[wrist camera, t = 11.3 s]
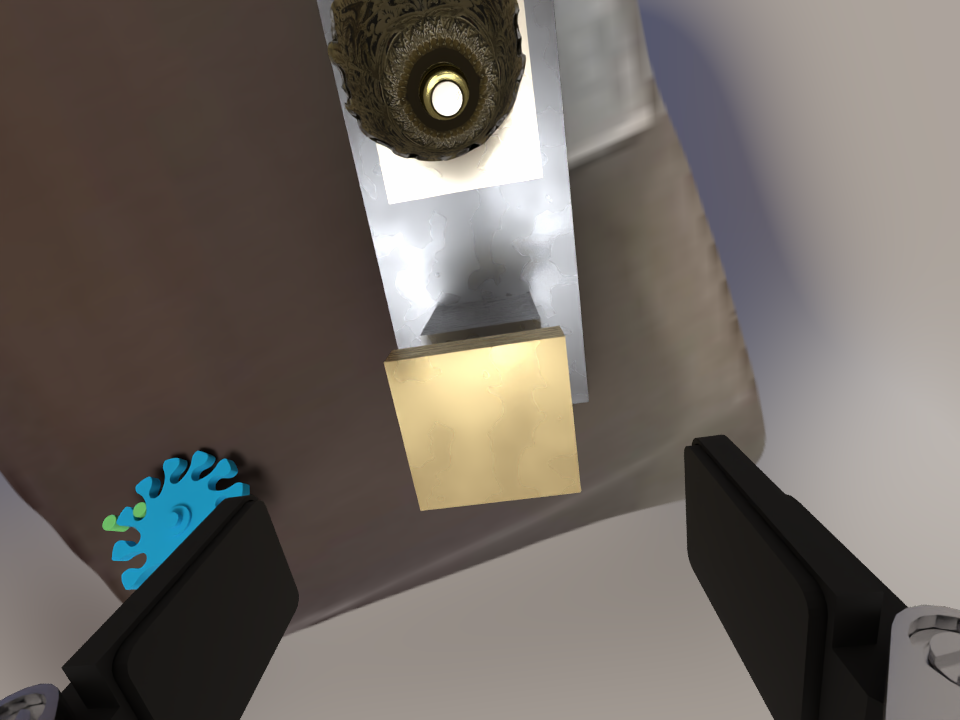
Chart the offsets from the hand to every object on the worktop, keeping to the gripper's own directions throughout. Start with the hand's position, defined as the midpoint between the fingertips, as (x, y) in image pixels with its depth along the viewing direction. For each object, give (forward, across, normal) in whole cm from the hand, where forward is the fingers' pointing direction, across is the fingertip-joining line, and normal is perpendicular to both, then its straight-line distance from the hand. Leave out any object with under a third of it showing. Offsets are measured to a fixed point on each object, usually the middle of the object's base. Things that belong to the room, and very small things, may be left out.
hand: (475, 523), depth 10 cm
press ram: (+16, 0, +2) cm, 16 cm away
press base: (+21, 0, -6) cm, 22 cm away
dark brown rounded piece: (+19, 0, -13) cm, 23 cm away
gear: (+21, +25, +10) cm, 34 cm away
